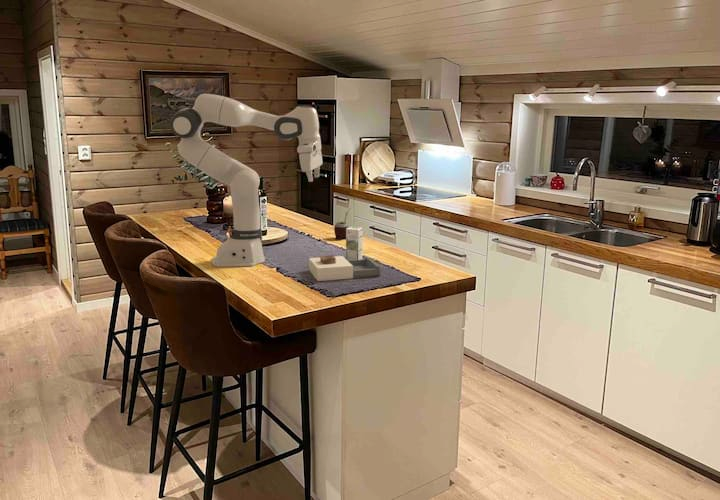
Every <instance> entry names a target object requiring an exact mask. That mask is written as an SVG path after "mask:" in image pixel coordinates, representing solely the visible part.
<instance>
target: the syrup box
mask: <svg viewBox="0 0 720 500" xmlns="http://www.w3.org/2000/svg"><path fill="white" fill-rule="evenodd" d="M363 234H364V233H363V227H362V226H348V228H347V229H346V239H345V252H346V253H345V259H346V260H360V259H363Z"/></svg>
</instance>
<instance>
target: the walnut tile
mask: <svg viewBox="0 0 720 500" xmlns="http://www.w3.org/2000/svg"><path fill="white" fill-rule="evenodd" d="M320 261H321V262H322V263H323V264H332V263H336V258H335V255H333V254H332V255H320Z"/></svg>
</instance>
